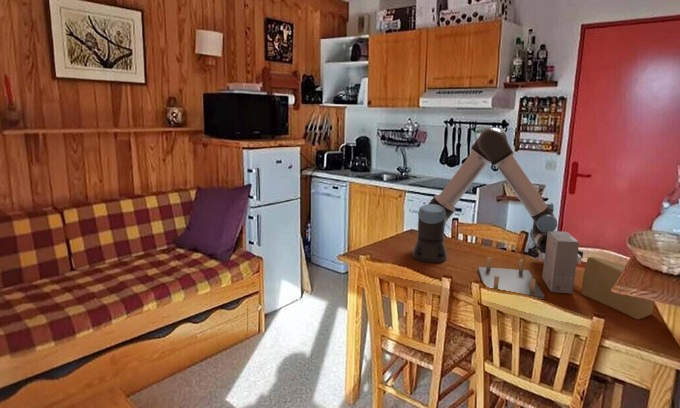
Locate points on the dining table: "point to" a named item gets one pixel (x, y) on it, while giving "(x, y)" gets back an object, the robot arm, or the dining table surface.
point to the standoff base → (510, 279)
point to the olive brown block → (603, 278)
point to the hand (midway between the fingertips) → (560, 259)
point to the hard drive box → (560, 261)
